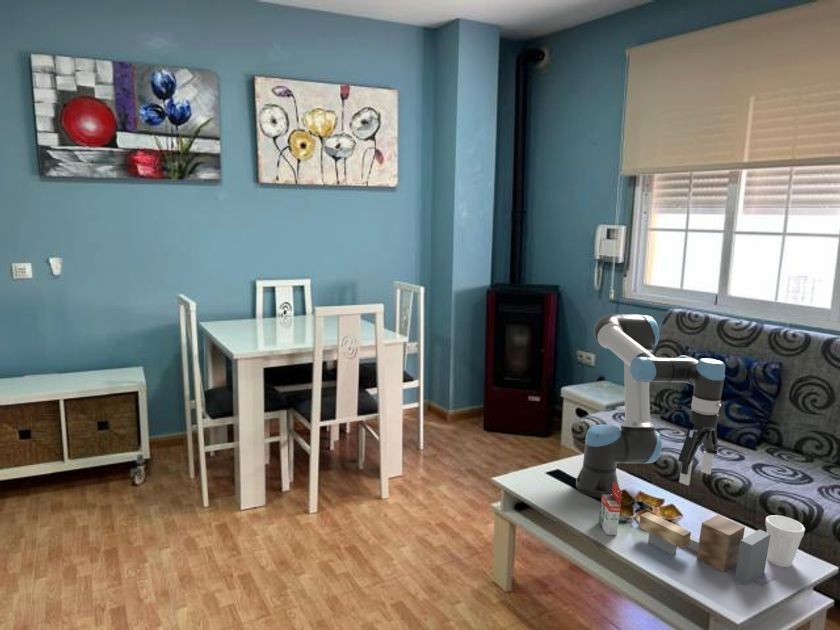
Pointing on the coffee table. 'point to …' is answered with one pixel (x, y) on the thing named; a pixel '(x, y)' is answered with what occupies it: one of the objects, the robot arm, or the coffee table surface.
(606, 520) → the ink box
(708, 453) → the robot arm
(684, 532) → the bar
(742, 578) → the base
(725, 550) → the block
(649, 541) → the pedestal
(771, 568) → the coffee table surface
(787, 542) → the cup
